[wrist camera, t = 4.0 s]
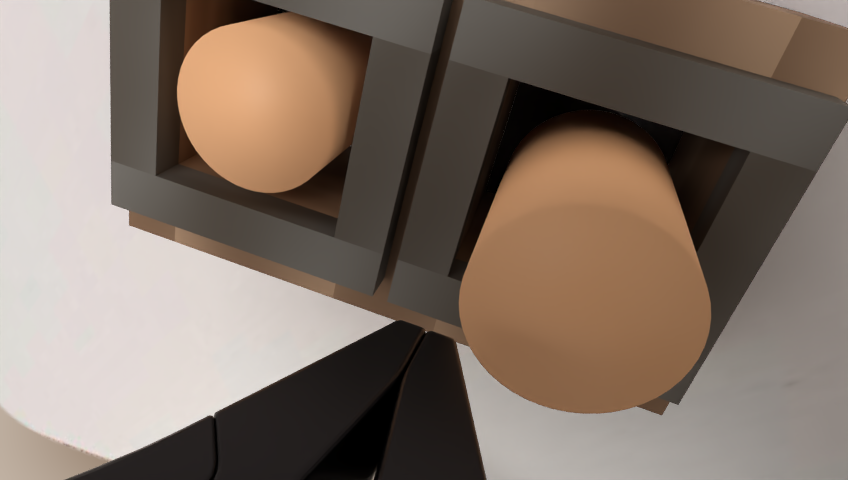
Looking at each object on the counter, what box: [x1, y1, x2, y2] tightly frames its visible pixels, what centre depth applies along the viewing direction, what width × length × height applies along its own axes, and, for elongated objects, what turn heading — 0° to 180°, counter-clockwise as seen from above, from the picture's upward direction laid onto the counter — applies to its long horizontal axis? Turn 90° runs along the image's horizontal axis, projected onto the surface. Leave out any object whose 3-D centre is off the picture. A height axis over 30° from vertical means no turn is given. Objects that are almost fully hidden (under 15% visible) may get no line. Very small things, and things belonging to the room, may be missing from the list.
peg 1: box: [177, 12, 373, 193], centre depth 17 cm, size 4×4×6 cm
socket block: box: [110, 0, 848, 415], centre depth 17 cm, size 16×10×6 cm, turn 76°
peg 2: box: [459, 110, 711, 413], centre depth 13 cm, size 4×4×6 cm
